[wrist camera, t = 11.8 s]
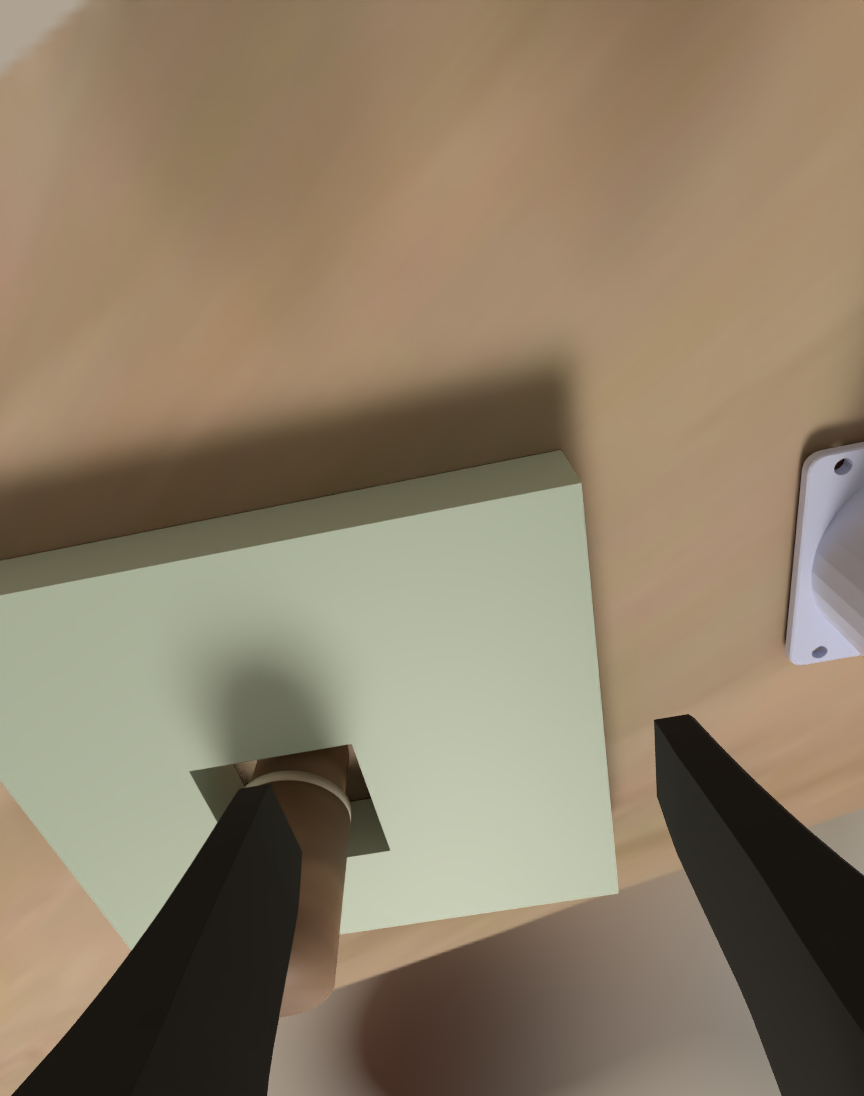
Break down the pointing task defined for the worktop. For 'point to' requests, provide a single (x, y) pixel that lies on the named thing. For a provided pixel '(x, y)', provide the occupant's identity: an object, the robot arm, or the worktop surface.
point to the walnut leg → (313, 864)
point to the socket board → (324, 692)
